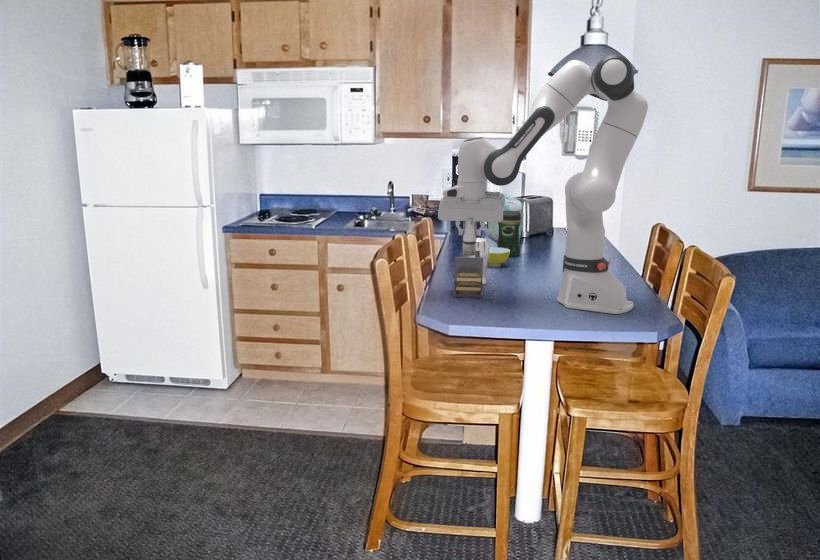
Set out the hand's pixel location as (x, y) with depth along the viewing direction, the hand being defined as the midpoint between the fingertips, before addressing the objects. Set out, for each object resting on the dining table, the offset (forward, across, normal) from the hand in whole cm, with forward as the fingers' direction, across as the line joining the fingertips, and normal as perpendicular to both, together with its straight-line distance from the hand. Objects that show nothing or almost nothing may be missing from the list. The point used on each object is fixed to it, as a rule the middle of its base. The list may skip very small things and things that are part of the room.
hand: (469, 235), depth 203 cm
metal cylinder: (+6, 0, 0) cm, 6 cm away
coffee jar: (+19, -17, -64) cm, 69 cm away
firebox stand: (+19, 0, 0) cm, 19 cm away
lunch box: (+19, -17, -100) cm, 103 cm away
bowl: (+19, -10, -43) cm, 49 cm away
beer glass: (+19, -4, -14) cm, 24 cm away
